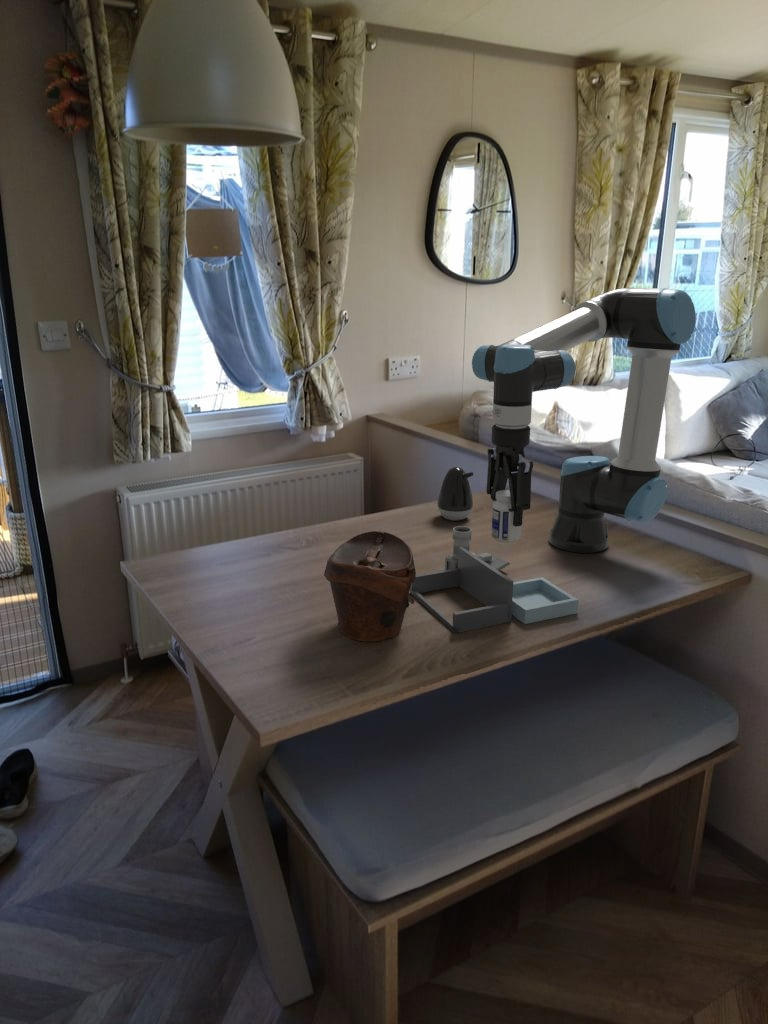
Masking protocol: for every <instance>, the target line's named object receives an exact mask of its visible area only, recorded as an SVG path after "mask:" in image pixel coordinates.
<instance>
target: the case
mask: <svg viewBox="0 0 768 1024" xmlns="http://www.w3.org/2000/svg"><path fill="white" fill-rule="evenodd" d="M413 555H414V554H413V551H412V548H411V547H410V546H409V545H408V544H407V543H406V541H404V540H403V539H402V538H400V537H399V536H397V535H395V534H393V533H390V532H386V531H381V530H380V531H379V530H378V531H377V530H375V531H374V530H371V531H367V532H362V533H360V534H357V535H355V536H353V537H352V538H350V539H348V540H346V541H345V542H344V543H342V544H341V545H340V546H339V547H337V549H336V550H335V551H334V552H332V554H331V555H330V557H329V558H328V559H327V560H326V561H327V562H326V566H325V569H324V574H323V576H324V578H325V579H326V580H327V581H328V582H329V583H330V589H331V593H332V599H333V603H334V608H335V611H336V616H337V622H338V624H337V625H338V627H339V630H340V632H341V633H342V634H343V635H344V636H346V637H348V638H349V639H352V640H354V641H357V642H366V643H368V642H371V643H373V642H381V641H385V640H388V639H390V638H392V637H395V636H396V635H397V634H398V633H399V632H400V631H401V628H403V623H404V617H405V614H406V611H407V608H408V609H409V607H410V604H411V605H414V603H415V597H412V596H411V595H409V594H410V587H411V582H412V583H413V582H414V581H415V578H416V575H417V572H416V566H415V560H414V556H413Z"/></svg>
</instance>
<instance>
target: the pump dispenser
mask: <svg viewBox="0 0 768 1024" xmlns="http://www.w3.org/2000/svg"><path fill="white" fill-rule="evenodd" d="M473 476H474V472H473V471H471V472H466V471H465V469H464V468H462V467H460V466H453V467H450V468H449V469H448V470H447V472H446V473H445V475H444V477H443V479H442V482H441V483H440V488H439V491H438V497H437V505H436V506H437V507H438V511H439V514H440V515H441V516H442V517H443V518H444V519H447V520H449V521H456V522H457V521H462V520H465V519H466V518H468V516H470V514H471V512H472V509H473V507H474V499H473V491H472V486H471V483H470V480H469V478H470V477H473Z"/></svg>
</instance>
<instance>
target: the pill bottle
mask: <svg viewBox="0 0 768 1024" xmlns="http://www.w3.org/2000/svg"><path fill="white" fill-rule="evenodd" d="M496 499H497V501H496V502H495V503H494V504H493V515H492V514H491V538H492V539H493V540H494V541H496V542H499V543H514V542H517V541H518V540H514V541H508V540H507V539H508V518H509V510H508V509H511V498H510V489H505V490H501V491H497V492H496ZM516 505H517V504H516Z"/></svg>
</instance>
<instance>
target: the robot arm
mask: <svg viewBox="0 0 768 1024" xmlns="http://www.w3.org/2000/svg"><path fill="white" fill-rule="evenodd" d="M695 308H696V307H695V305H694V302H693V300H692V298H691V295H689V294H688V293H687V292H685V290H682V289H673V288H669V287H665V288H663V287H661V288H659V287H658V288H653V287H651V288H650V287H647V288H646V287H645V288H644V287H643V288H642V287H621V288H617V289H613V290H610V291H609V290H608V291H607V292H603V293H600V294H599V295H595V296H594V297H591V298H588V299H587V300H585V301H582V302H580V303H579V304H577V305H576V306H575V308H574V309H573V311H571V312H569V313H567V314H565V315H563V316H560V317H558V318H556V319H554V320H551V321H550V322H547V323H545V324H542V325H541V326H539V327H536V328H535V329H531V330H530V331H528V332H526V333H524V334H522V335H519V336H518V337H515V338H513V339H511V340H508V341H506V342H503V343H502V344H499V345H494V344H489V345H485V344H484V345H481V346H479V347H478V348H477V349H476V350H475V351H474V353H473V355H472V359H471V369H472V372H473V374H474V375H475V377H477V378H478V379H480V380H484V381H487V382H489V383H493V399H492V400H493V401H492V402H493V403H492V405H493V406H492V411H491V414H492V423H493V425H492V426H491V440H490V441H491V443H492V445H494V446H495V447H493V448H492V447H491V448H488V449H487V458H488V463H487V477H486V480H487V481H486V494H487V495H489V496H490V500H492V501H491V502H492V505H491V516H492V515H493V504H494V503H495V502H496V501H497V499H496V492H497V491H501V490H506V488H507V485H508V486H509V487H508V488H509V489H508V490H510V498H511V509H508V510H509V518H508V539H507V540H508V541H514V540H517V541H519V540H521V539H522V526H523V518H524V517H523V515H524V514H523V513H524V511H527V510H530V509H531V500H532V499H531V493H532V473H533V467H534V462H533V460H531V461H528V460H526V455H525V450H524V449H525V447H526V446H528V445H529V444H530V440H531V439H530V437H531V427H530V424H531V423H532V410H533V409H532V407H533V406H532V405H533V393H534V392H541V391H547V390H552V389H553V390H557V389H559V388H563V387H565V386H568V385H569V384H570V383H571V382H572V381H573V379H574V377H575V375H576V363H575V360H574V358H573V356H572V355H571V354H570V353H569V352H567V351H569V350H571V349H573V348H575V347H577V346H579V345H581V344H583V343H585V342H589V343H592V342H597V341H600V339H605V338H607V339H610V338H613V339H624V340H627V344H626V348H627V350H628V351H629V352H630V354H631V355H632V357H631V363H630V370H629V371H630V372H629V377H628V383H627V384H628V385H627V391H626V398H625V406H624V413H623V419H622V420H623V421H622V425H621V433H620V438H619V439H620V440H619V444H618V445H619V447H618V453H617V456H616V457H615V458H613V459H612V460H610V459H609V458H608V457H607V456H601V455H584V456H583V455H581V456H575V457H570V458H567V459H565V460H564V461H563V463H562V466H561V473H560V475H559V476H560V485H559V496H558V497H559V498H558V501H559V502H558V513H557V515H556V518H555V520H554V523H553V525H552V527H551V529H550V531H549V536H548V537H549V539H548V542H549V544H550V545H552V546H553V547H554V548H557V549H560V550H562V551H567V552H570V553H571V552H572V553H580V554H584V553H585V554H592V553H600V552H602V551H605V550H607V549H608V547H609V541H610V540H609V539H610V537H609V534H608V529H607V524H606V521H605V514H608V515H610V516H614V517H617V518H622V519H624V520H626V521H628V522H629V521H633V522H637V523H641V524H642V523H648V522H650V521H651V520H653V519H654V518H655V517H656V516H657V515H658V513H659V512H660V511H661V510H662V508H663V506H664V505H665V503H666V499H667V496H668V491H669V490H668V489H669V487H668V482H667V480H666V479H665V478H664V477H662V476H661V469H662V468H661V466H660V464H659V463H658V462H657V460H656V458H657V453H658V452H657V450H658V444H659V439H660V438H659V437H660V433H661V425H662V420H663V414H664V408H665V407H664V406H665V401H666V394H667V389H668V381H669V375H670V368H671V362H672V359H673V358H674V356H676V355H678V353H679V352H680V350H681V345H683V344H685V343H687V342H688V341H689V340H690V339H691V337H692V334H694V331H695V327H696V319H697V318H696V309H695ZM507 483H508V484H507ZM516 504H517V505H516ZM514 542H515V541H514Z"/></svg>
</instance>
